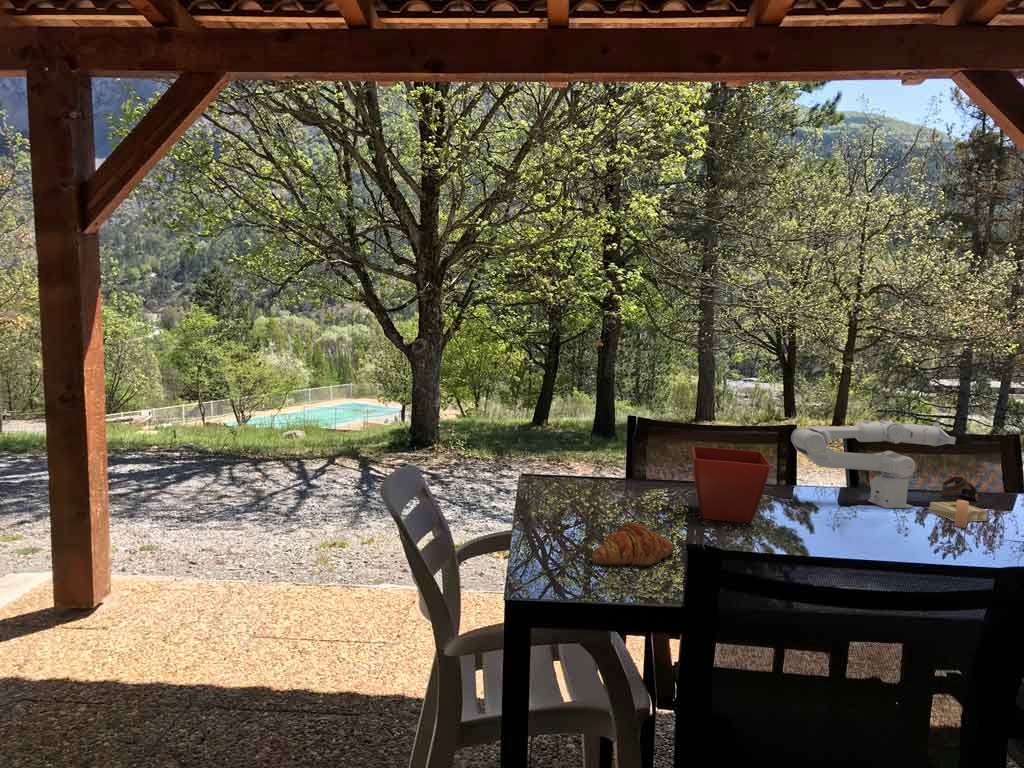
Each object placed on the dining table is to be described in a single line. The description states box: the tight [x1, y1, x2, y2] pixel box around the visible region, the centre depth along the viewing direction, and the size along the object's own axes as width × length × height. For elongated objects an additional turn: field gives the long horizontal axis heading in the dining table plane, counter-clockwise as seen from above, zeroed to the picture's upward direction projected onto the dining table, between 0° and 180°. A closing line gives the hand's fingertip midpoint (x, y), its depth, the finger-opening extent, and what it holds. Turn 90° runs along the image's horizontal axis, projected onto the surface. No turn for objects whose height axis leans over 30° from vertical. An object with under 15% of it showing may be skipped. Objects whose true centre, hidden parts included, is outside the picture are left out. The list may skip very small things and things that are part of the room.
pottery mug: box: [941, 475, 979, 502], centre depth 238 cm, size 12×10×8 cm
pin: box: [953, 499, 970, 529], centre depth 204 cm, size 3×3×7 cm
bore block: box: [928, 501, 989, 523], centre depth 214 cm, size 10×10×3 cm
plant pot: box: [691, 445, 771, 524], centre depth 203 cm, size 19×19×17 cm
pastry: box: [590, 522, 675, 568], centre depth 164 cm, size 17×15×8 cm
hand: (962, 438), depth 224 cm, fingers open, 7 cm apart
